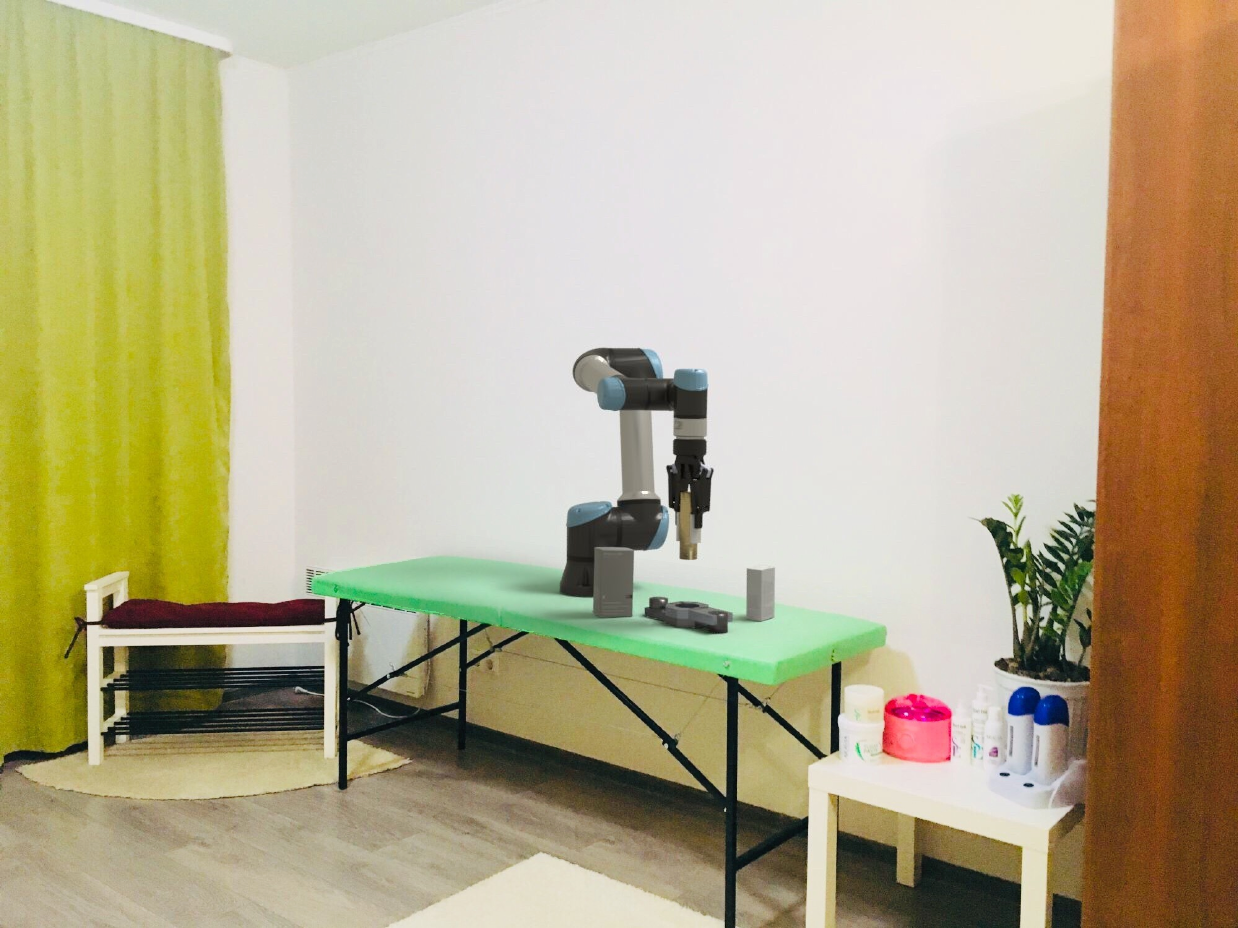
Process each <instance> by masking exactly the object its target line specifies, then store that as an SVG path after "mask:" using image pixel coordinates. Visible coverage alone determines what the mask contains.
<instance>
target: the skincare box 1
mask: <svg viewBox="0 0 1238 928" xmlns="http://www.w3.org/2000/svg"><path fill="white" fill-rule="evenodd" d="M594 550H595V560H594V594H593V599H592V601H593V602H592V604H593V605H592V612H593V613H594V615H595V614H596V615H597V616H598V617H599V618H601V619H605V618H607V619H608V618H620V617H632V616H633V606H634V605H633V603H634V572H635V571H634V568H635V551H634V550H632V549H629V548H623V547H595V548H594Z"/></svg>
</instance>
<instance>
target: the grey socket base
mask: <svg viewBox="0 0 1238 928" xmlns="http://www.w3.org/2000/svg"><path fill="white" fill-rule="evenodd" d="M648 600H649V602H648V606H645V607H644V617H648V618H651V619H655V620H658V621H661V622H665V625H667V626H670V627H674V628H686V629H690V628H691V629H696V628H702V627H703V628H704V627H707V632H708V633H711V634H719V635H720V634H726V633H728V631H729V630H728V629H729V623H733V615H734V614H733V612H731V611H728V610H724V609H719V608H715V607H712V606H710V605H709V604H708V603H703V602H699V601H690V600H688V601H685V600H683V601H681V600H680V601H679V600H678V601H673V602H669V598H668V597H665V596H651V597H649V598H648Z"/></svg>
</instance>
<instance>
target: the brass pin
mask: <svg viewBox="0 0 1238 928" xmlns="http://www.w3.org/2000/svg"><path fill="white" fill-rule="evenodd" d="M690 512H693V510H692V502H691V493H690V491H689V490H688V491H687V492H680V541H679V559H680V560H685V561H694V560H697V559H698V543H693V544H691V543H690V514H691V513H690Z"/></svg>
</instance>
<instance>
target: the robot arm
mask: <svg viewBox="0 0 1238 928" xmlns="http://www.w3.org/2000/svg"><path fill="white" fill-rule="evenodd" d="M572 377H573V380H574V382H575V383H576V385H577V386H578V387H579V388H581V389H582V390H583V391H586V392H589V393H594V394H596V395H597V396H596V397H597V398H596V399H597V403H598V407H599V408H600V409H601V410H604V411H612V412H618V411H619V431H620V432H619V435H620V439H619V440H620V463H621V465H620V466H621V467H620V468H621V491H622V493H621V495H620V496H619V497H618V498H617V500H616V506H613V505H612V502H611V501H607V500H605V501H604V500H602V501H588V502H584V503H579V504H575V505H572V506H571V507H570V508H568V510H567V515H566V524H565V526H566V563H565V566H564V569H563V573H562V575H561V576H562V577H561V580H560V582H559V593H561V594H563V595H567V596H574V597H584V598H585V597H589V598H591V597H593V594H594V560H595V550H594V548H595V547H623V548H629V549H632V550H634V552H635V551H636V552H637V551H643V552H646V551H649V550H650V551H651V550H658V549H661V547H663V545H664V544H665V542H666V541H667V540H666V539H667V537H668V533H669V527H670V514H669V510H668V508H669V509H672V510H673V511H674V512H675V513H674V514H675V515H674V518H675V519H674V523H675V526H676V527H675V528H676V529H675V530H676V531H675V532H676V535H675V538H676V539H675V540H676V542H680V492H687V491H689V490H690V491H689V492H690V493H691V502H692V510H693V512H690V513H691V514H690V543H691V544H693V543H697V544H700V543H702V542H701V541H702V529H703V521H704V520H703V517H704V516H703V515H704V514H705V513H707V512H710V511H711V496H712V492H711V491H712V478H713V475H714V472H715V471H714V470H715V469H714V468H713V467H708V466H707V465H706V462H705V460H704V457H705V456H706V455H707V453H708V452H707V448H708V447H707V443H708V440H706V438H705V437H707V436H708V392H709V391H708V388H709V383H708V372H707V371H706V370H705V369H704V368H677V369H675V370H674V373H673V377H672V378H665V377H664V370H663V365H662V362H661V358H660V357H659V355H658V354H657V352H656V351H655V350H653V349H651V348H649V349H648V348H640V347H632V348H631V347H627V348H626V347H596V348H592V349H589V350H587V351H585V352H583V353H582V354H581V355H579V356H578V357H577V358H576V360H575V361H574V363H573V367H572ZM652 411H655V412H657V411H658V412H659V411H661V412H662V411H663V412H664V411H665V412H666V411H668V412H673V415H672V416H673V417H672V418H673V425H672V426H673V432H672V433H673V434H672V435H673V436H674V437H675V438H674V439H673V440H672V454H673V455H674V456H675V460H674V463H672V464H667V465H666V466H665V468H666V469H665V470H666V473H667V484H668V485H667V486H668V487H667V489H668V490H667V492H668V493H667V495H668V507H667V506H665V505H664V504H661V503H662V502H661V501H662V500H661V498H660V496H658V495H657V494H656V492H655V473H654V471H655V469H654V468H655V467H654V444H653V442H654V441H653V421H652V419H653V418H652Z"/></svg>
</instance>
